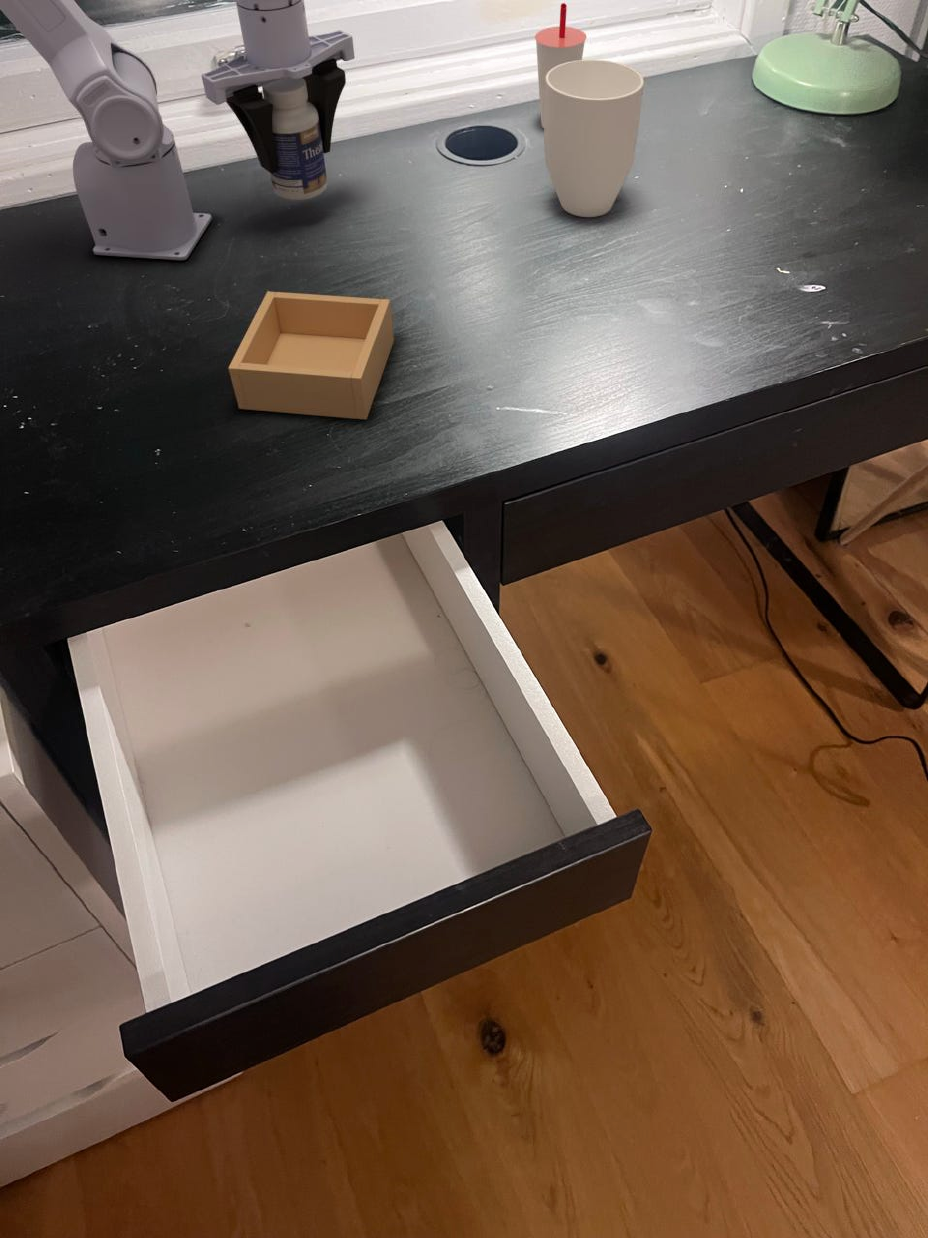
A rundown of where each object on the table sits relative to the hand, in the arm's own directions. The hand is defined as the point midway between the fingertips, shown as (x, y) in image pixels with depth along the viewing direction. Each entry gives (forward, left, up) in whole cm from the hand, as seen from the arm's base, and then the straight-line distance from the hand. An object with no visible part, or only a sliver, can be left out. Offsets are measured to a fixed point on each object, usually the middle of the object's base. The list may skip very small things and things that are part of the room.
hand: (295, 158), depth 92 cm
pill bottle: (0, 0, -3) cm, 3 cm away
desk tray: (+8, -25, -6) cm, 27 cm away
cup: (+23, +22, -6) cm, 32 cm away
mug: (+27, +6, -6) cm, 28 cm away
